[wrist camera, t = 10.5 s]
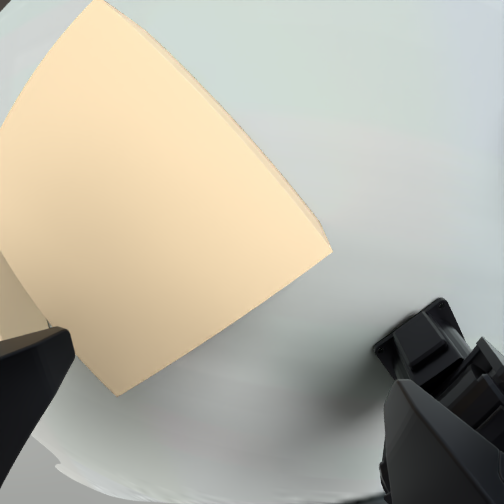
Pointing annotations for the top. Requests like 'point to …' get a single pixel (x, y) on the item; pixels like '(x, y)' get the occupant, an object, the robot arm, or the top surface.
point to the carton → (140, 203)
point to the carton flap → (16, 306)
